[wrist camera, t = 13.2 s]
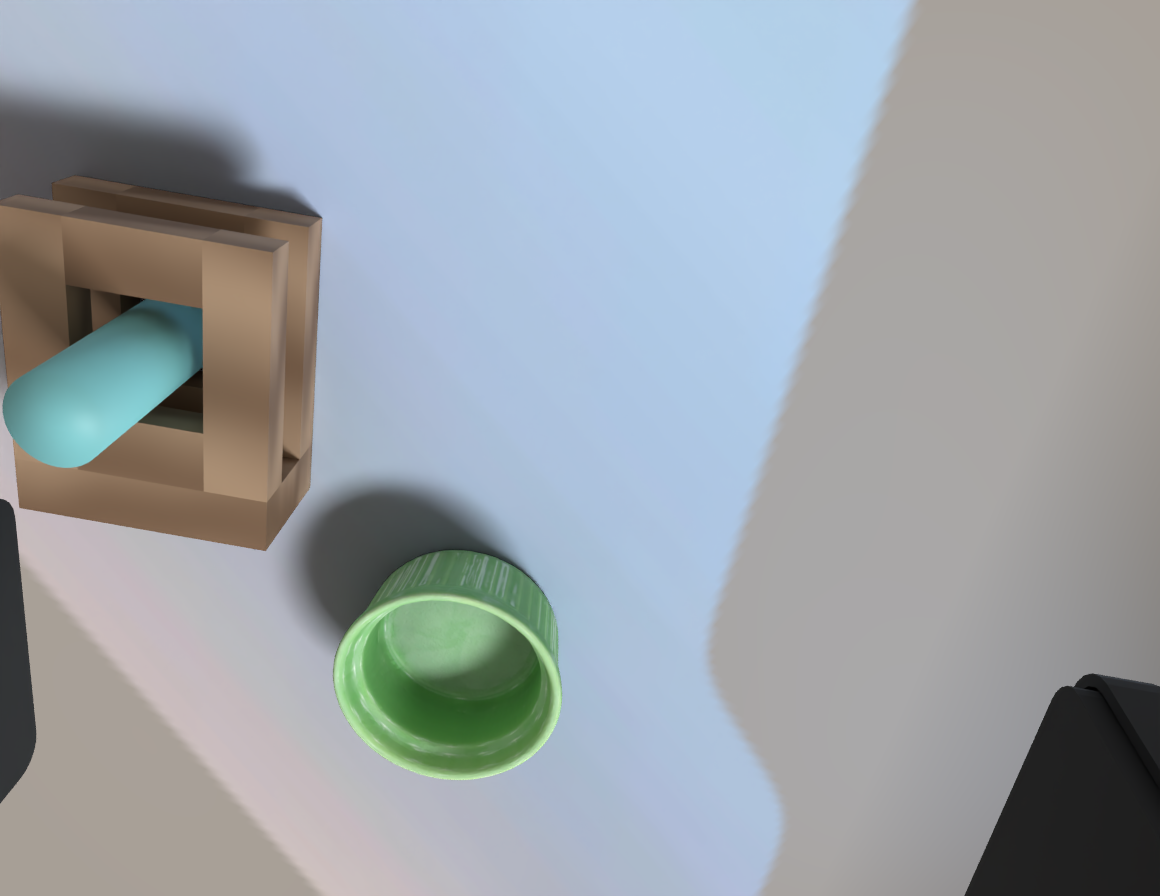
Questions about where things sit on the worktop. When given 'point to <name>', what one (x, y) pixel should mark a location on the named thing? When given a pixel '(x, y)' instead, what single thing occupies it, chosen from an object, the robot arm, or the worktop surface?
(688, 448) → the worktop surface
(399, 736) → the ramekin
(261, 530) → the block
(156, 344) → the peg
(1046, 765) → the robot arm
